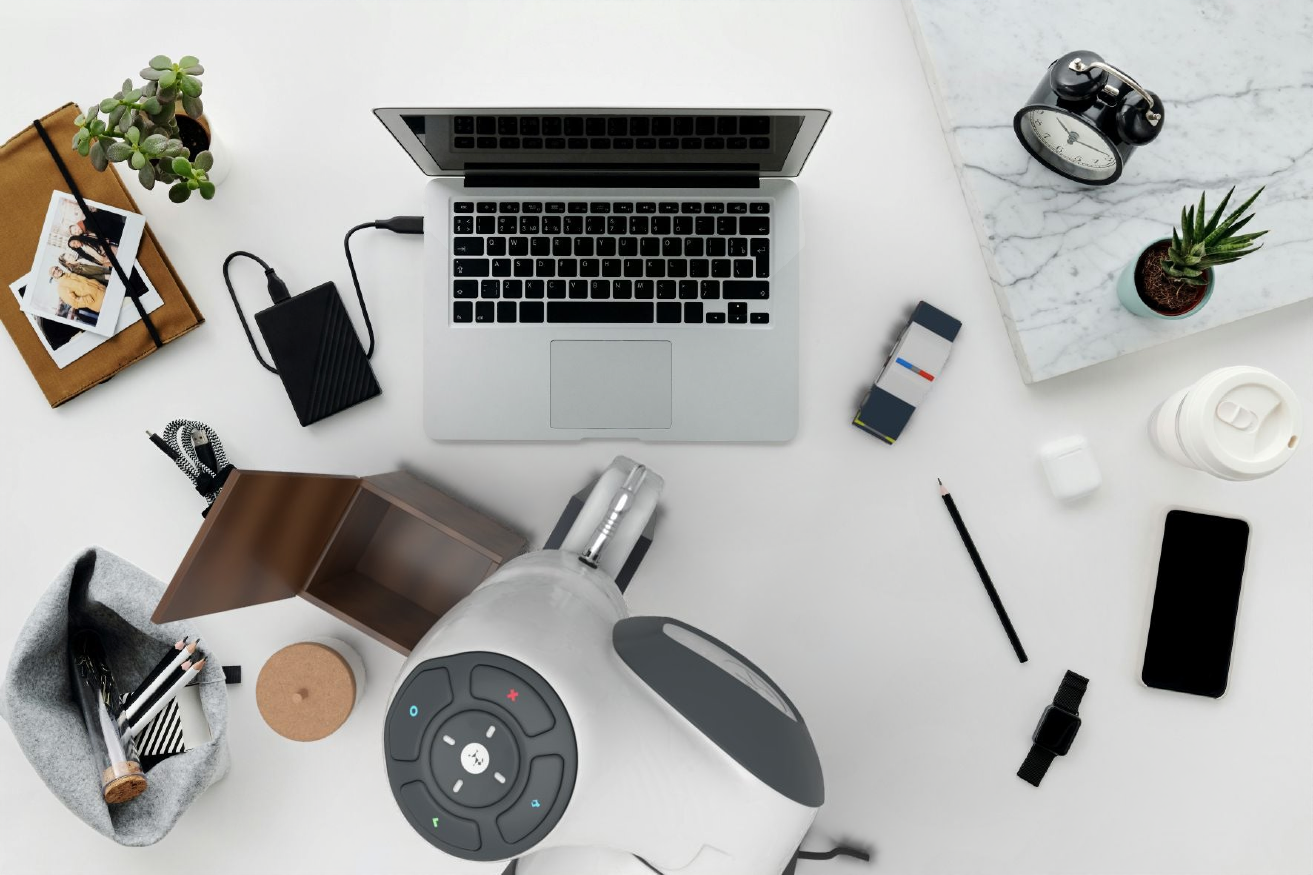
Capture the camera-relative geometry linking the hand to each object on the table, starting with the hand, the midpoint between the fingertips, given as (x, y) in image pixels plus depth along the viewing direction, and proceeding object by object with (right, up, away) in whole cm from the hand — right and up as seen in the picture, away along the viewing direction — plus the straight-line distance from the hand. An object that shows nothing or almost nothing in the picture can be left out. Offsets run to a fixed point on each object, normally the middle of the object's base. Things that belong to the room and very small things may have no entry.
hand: (576, 584), depth 56 cm
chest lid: (-29, +1, +14) cm, 32 cm away
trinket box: (-32, -17, +37) cm, 52 cm away
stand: (0, 0, +36) cm, 36 cm away
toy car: (+34, +18, +35) cm, 52 cm away
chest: (-20, -3, +36) cm, 41 cm away
